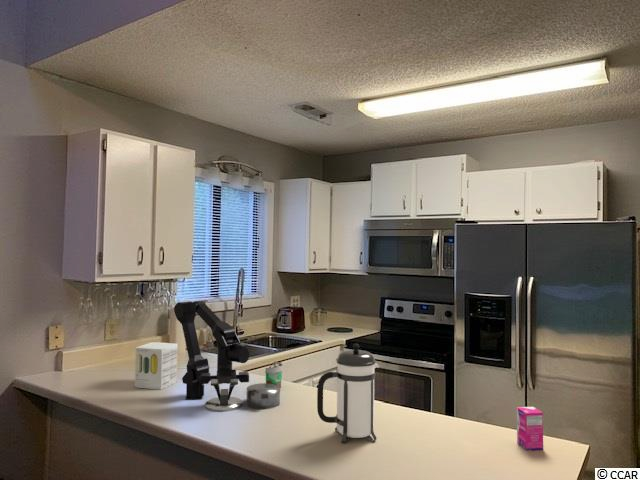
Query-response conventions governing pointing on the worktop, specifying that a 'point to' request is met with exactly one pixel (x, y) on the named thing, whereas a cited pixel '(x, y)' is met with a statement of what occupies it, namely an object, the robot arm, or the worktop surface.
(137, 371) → the supplement box
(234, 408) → the lid
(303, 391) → the worktop surface
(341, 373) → the coffee press
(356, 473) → the worktop surface
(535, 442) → the supplement box
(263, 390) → the pot
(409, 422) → the worktop surface
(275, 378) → the food container
